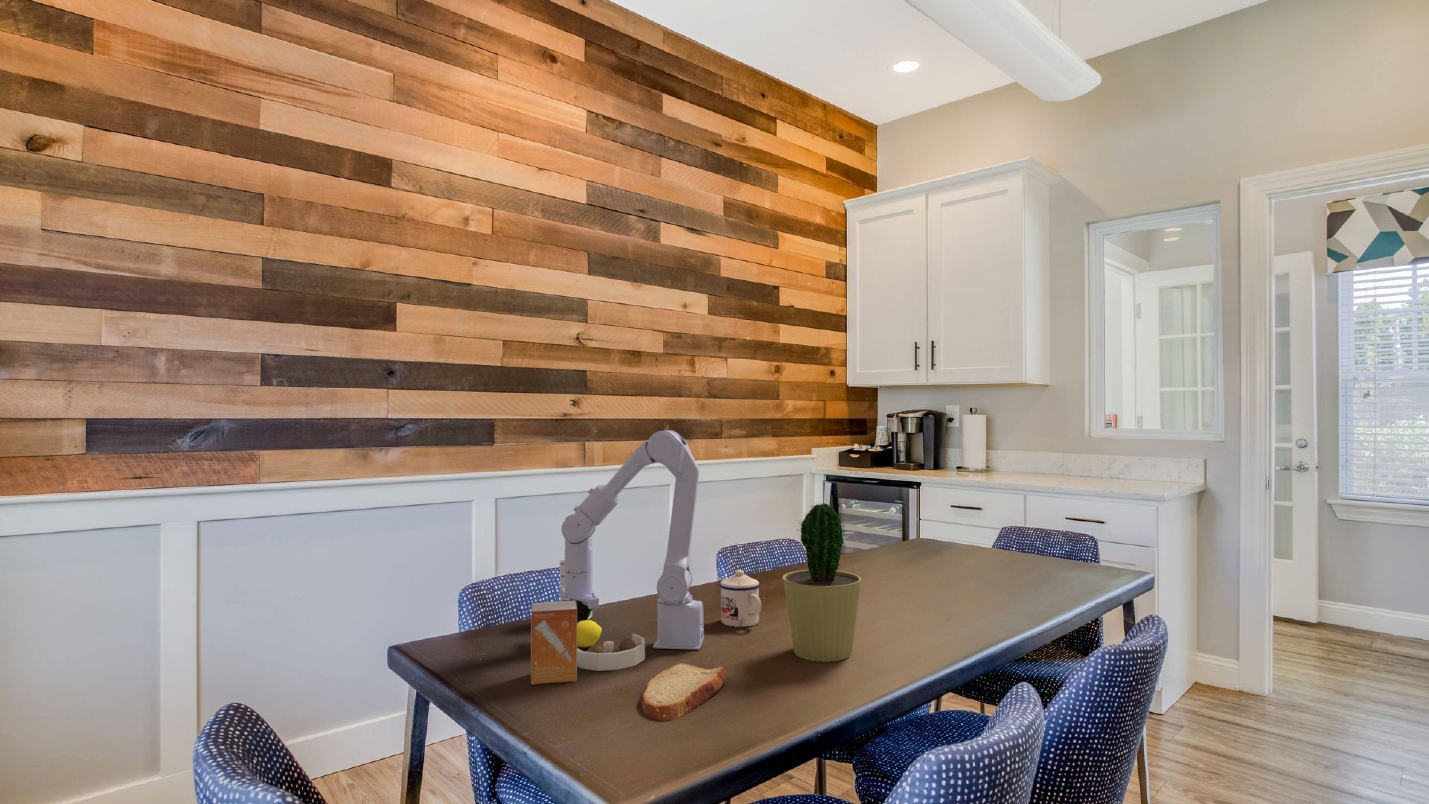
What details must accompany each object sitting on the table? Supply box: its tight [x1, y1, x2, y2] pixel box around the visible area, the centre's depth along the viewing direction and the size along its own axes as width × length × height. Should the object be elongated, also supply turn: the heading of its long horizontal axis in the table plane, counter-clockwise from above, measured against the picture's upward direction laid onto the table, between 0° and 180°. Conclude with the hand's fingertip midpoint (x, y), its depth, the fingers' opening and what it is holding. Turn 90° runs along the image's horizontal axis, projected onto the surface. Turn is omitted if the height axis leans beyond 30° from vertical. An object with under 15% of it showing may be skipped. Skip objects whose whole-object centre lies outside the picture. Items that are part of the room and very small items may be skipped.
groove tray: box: [577, 633, 646, 672], centre depth 143 cm, size 12×14×3 cm
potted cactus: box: [782, 501, 862, 663], centre depth 146 cm, size 15×15×30 cm
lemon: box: [577, 619, 603, 649], centre depth 151 cm, size 7×5×5 cm
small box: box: [530, 600, 578, 685], centre depth 133 cm, size 8×6×13 cm
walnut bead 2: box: [618, 637, 636, 652], centre depth 144 cm, size 3×3×3 cm
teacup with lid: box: [719, 569, 762, 628], centre depth 166 cm, size 12×9×12 cm
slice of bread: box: [640, 662, 728, 721], centre depth 124 cm, size 18×18×4 cm
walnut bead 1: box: [586, 644, 604, 653], centre depth 140 cm, size 3×3×3 cm
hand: (578, 636), depth 153 cm, fingers closed
